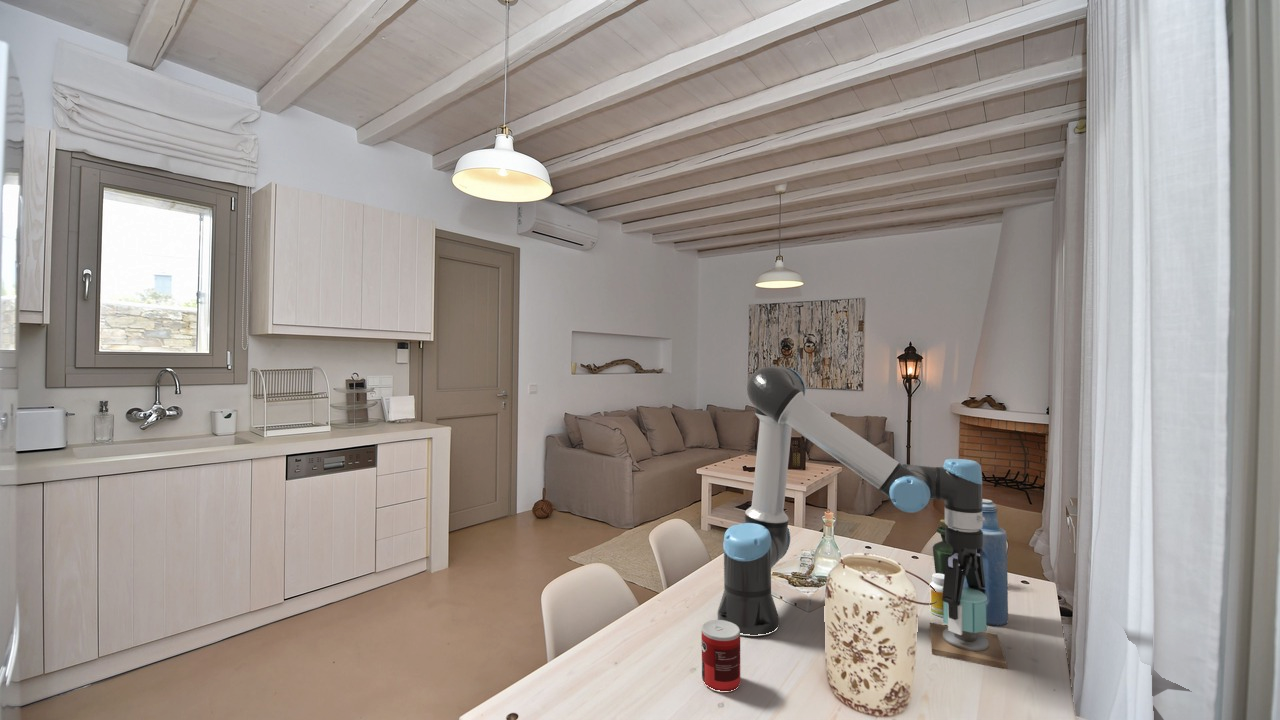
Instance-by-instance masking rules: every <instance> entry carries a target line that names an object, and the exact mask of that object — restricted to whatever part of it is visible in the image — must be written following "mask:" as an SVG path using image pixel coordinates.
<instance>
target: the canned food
mask: <svg viewBox="0 0 1280 720" xmlns="http://www.w3.org/2000/svg"><path fill="white" fill-rule="evenodd" d="M701 678H702V682H703V681H704V682H705V684H706V685H708V686H709V687H711V688H713V689H715V690H720V691H731V690H734V689H736V688H737V687H738V686H739V687H740V685H739V684H741V635H740V629H739V627H738V626H737V625H735V624H734V623H731V622H728V621H724V620H718V619H713V620H712V619H711V620H708V621H705V622H703V624H702V626H701ZM704 682H703V683H704ZM705 684H704V685H705ZM739 687H738V688H739ZM738 688H737V689H738ZM737 689H736V690H737Z"/></svg>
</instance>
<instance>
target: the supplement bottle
mask: <svg viewBox="0 0 1280 720" xmlns="http://www.w3.org/2000/svg"><path fill="white" fill-rule="evenodd" d="M931 576H932V577H931V582H930V583H929V586H930V585H931V586H932V587H933V588H934V589H935V591H936V592H934V590H933V589H932V588H930V587H928V588H929V589H928V590H929V612H930V613H932V615H935V616H936V617H938V618H939V617H940V618H943V601H942V596H943V593H942V588H943V585H944V574H940V573H934V572H933V574H932V575H931ZM936 601H937V603H936V604H934V605H930V603H934V602H936Z"/></svg>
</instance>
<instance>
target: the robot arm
mask: <svg viewBox="0 0 1280 720" xmlns="http://www.w3.org/2000/svg"><path fill="white" fill-rule="evenodd" d="M746 385H747V386H746V392H747V393H746V395H747V397H748V399H749V401H750V402H751V404H752V405H753V406H754V407H755V409H754V415H755V416H756V417H757V418H758V419H759V427H758V436H757V437H758V438H757V447H756V459H755V469H754V477H753V489H752V495H751V496H752V498H751V506H749V507H748V508H747V509H746V510H745V514H744V521H743V522H742V523H741V522H740V523H739V524H733V525H731V526H730V527H728V528H727V529H726V531H725V532H724V534H723V535H724V537H723V543H722V546H723V547H722V548H723V581H724V584H723V586H724V587H723V593H722V596H721V599H720V601H719V602H720V603H719V606H718V609H717V620H724V621H728V622H731V623H734V624H735V625H737V626H738V627H739V629H740V633H743V634H750V635H758V634H766V633H769V632H772V631H774V630H775V629H776V628H777V627H778V625H779V626H780V624H779V623H780V619H779V618H780V617H779V614H778V613H779V612H778V611H777V607H776V604H775V600H774V597H773V595H772V568H773V567H774V566H775V565H776V564H777V563H778V562H779V561H780V560H781V559H783V558H784V556H785V555H786V554H787V553H788V551H789V547H790V545H791V533H790V529H789V527H788V526H789V516H788V515H787V514H786V512H785V511H784V509H785V499H786V490H787V480H788V471H789V470H788V469H789V460H790V451H791V450H790V448H791V439H792V430H794V431H796V432H797V433H799V434H800V435H801V436H803V437H804V438H806V439H807V440H809V441H810V442H812V443H813V444H814V445H816V447H818V448H820V449H821V450H823V451H824V452H825V453H827V454H828V455H830V456H832V458H834V459H835V460H837V461H838V462H840V463H841V464H842V465H844V466H845V467H846V468H848V469H850V470H851V471H853V472H854V474H856V475H858V476H859V477H861V478H862V479H863V480H865V481H866V482H868V483H869V484H870V485H872V486H873V487H875V488H876V489H877V490H879V491H880V492H882V493H883V494H884V495H885V496H887V497H888V498H890V501H891V503H892V504H893V505H894V507H896V508H897V509H898V510H900V511H902V512H904V513H909V514H910V513H912V514H913V513H917V512H920V511H922V510H923V509H924V508H925V507H926V506H927V505H928V504H929V502H930V499H931V500H944V519H945V524H946V525H947V526H946V527H945V541H946V543H948V544H950V545H951V546H952V553H951V557H948V556H945V574H944V585H943V596H942V601H944V602H947V603H948V625H947V626H948V631H951V632H953V633H956V634H959V635H962V605H961V604H960V600H961V594H962V589H963V584H964V579H965V576H966V580H967V583H968V587H969V588H973V589H976V590H979V591H981V592H983V593H984V594H985V592H986V590H985V589H982V588H985V578H984V569H983V561H982V547H983V532H982V531H981V530H980V529H982V521H984V520H985V518H984V517H982V499H983V474H982V473H983V472H982V466H981V464H980V463H979V462H977V461H975V460H973V459H966V458H948V459H945V460H944V462H943V465H942V466H930V465H928V466H927V465H926V466H925V465H917V464H915V465H914V464H906V463H900V462H899V461H897V460H896V459H894V458H893V457H891V456H890V455H889V454H888V453H885V452H884V451H882V450H881V449H880V448H878V447H876V446H875V445H874V444H872V443H871V442H870V441H868V440H867V439H865V438H863V437H862V436H860V435H859V434H858V433H856V432H855V431H853V430H852V429H850V428H849V427H847V426H846V425H845V424H843V423H842V422H839V421H838V420H837V419H835V418H834V417H832V416H831V415H829V414H828V413H827V412H825V411H823V410H822V409H821V408H819V407H818V406H817V405H815V404H813V403H812V402H811V401H809V400H808V399H806V398H805V396H806V389H807V388H806V383H805V381H804V378H803V377H802V376H801V374H800V373H799V372H797V371H796V370H794V369H792V368H790V367H787V366H784V365H783V366H781V365H780V366H779V365H777V366H764V367H761V368H758V369H757V370H755V371H754V372H753V373H752V374H751V376H750V377H749V379H748V382H747V384H746ZM959 569H960V570H959ZM980 581H981V582H980ZM778 628H779V627H778Z"/></svg>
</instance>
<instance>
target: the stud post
mask: <svg viewBox="0 0 1280 720" xmlns="http://www.w3.org/2000/svg"><path fill="white" fill-rule="evenodd" d="M929 632H930V633H929V634H930V645H931V646H930V647H931V655H934V656H940V657H945V658H949V659H955V660H959V661H965V662H968V663H969V662H970V663H975V664H978V665H979V664H980V665H984V666H988V667H989V666H990V667H995V668H998V669H999V668H1000V669H1005V670H1008V665H1007V664H1008V663H1007V660H1006V657H1005V654H1004V651H1003V648H1002V645H1001V642H1000V639H999V636H998V634H996V633H991V632H986V631H984V632H977V633H974V632H973V633H972V632H967V631H962V635H959V634H956V633H953V632H951V631H948V625H947V624H946V625H945V624H940V623H934V622H929Z"/></svg>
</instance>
